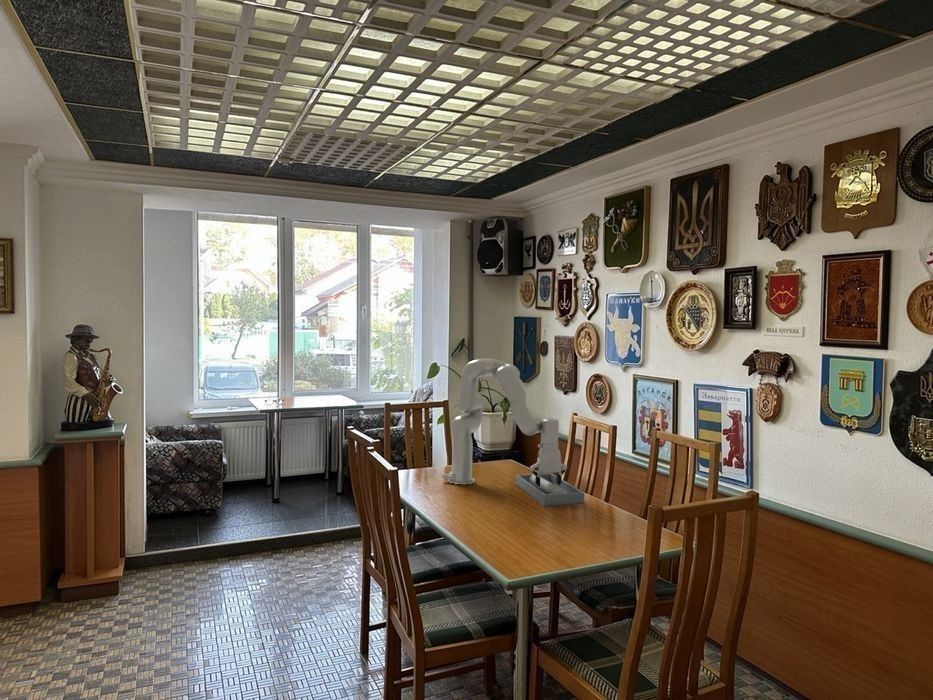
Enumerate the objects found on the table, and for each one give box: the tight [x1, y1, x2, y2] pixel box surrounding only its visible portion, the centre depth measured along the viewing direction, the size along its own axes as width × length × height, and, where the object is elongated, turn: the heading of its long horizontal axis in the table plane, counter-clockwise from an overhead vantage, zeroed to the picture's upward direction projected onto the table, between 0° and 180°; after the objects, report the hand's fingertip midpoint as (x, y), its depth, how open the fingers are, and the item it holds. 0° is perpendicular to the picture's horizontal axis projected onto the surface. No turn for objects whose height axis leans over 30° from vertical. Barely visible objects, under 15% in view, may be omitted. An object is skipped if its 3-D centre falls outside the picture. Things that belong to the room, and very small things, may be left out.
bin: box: [515, 473, 585, 508], centre depth 275 cm, size 18×34×5 cm, turn 16°
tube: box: [529, 473, 564, 494], centre depth 275 cm, size 5×5×25 cm
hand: (548, 484), depth 274 cm, fingers open, 9 cm apart
